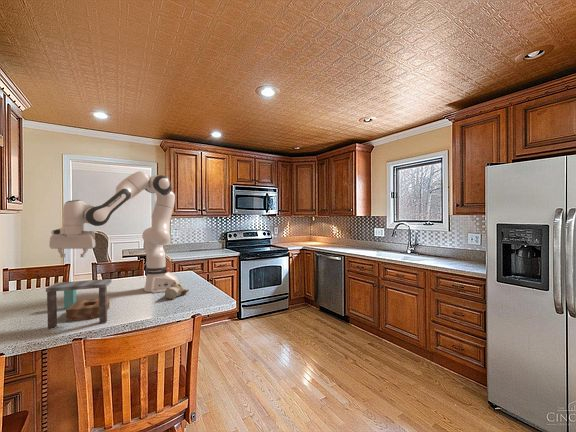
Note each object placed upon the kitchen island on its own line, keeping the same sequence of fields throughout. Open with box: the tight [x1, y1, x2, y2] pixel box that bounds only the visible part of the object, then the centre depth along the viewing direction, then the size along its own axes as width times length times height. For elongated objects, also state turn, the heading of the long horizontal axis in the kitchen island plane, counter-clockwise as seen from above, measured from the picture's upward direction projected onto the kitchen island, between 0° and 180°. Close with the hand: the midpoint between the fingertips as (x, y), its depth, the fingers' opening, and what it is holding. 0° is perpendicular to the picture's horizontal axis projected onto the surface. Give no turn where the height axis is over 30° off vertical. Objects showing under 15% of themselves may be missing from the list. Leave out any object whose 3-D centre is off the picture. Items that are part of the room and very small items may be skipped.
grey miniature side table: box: [45, 278, 112, 329], centre depth 137 cm, size 22×22×18 cm
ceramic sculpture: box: [164, 282, 190, 300], centre depth 169 cm, size 11×9×15 cm
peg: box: [63, 290, 77, 310], centre depth 149 cm, size 4×4×11 cm
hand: (72, 257), depth 152 cm, fingers open, 8 cm apart
